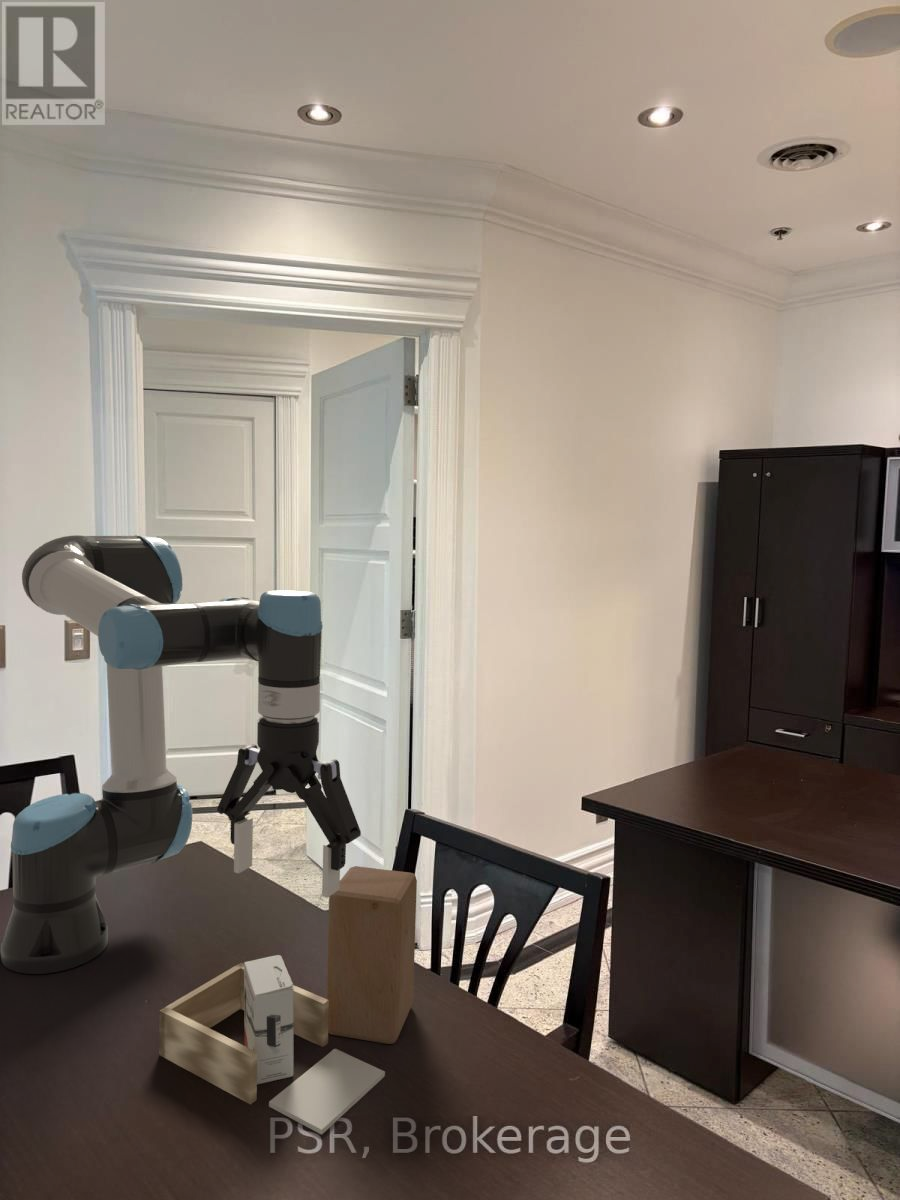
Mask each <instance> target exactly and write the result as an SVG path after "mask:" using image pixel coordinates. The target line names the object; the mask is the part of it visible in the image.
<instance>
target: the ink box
mask: <svg viewBox="0 0 900 1200" xmlns="http://www.w3.org/2000/svg"><path fill="white" fill-rule="evenodd" d="M243 964H244V1010H243V1011H244V1012H243V1013H244V1018H243V1019H244V1021H243V1023H244V1028H243V1029H244V1031H243V1032H244V1035H243V1036H244V1039H243V1040H244V1043H243V1044H244V1046H246V1047H248V1048H250V1049H252V1050H254V1051H256V1052H257V1085H260V1084H261V1085H262V1084H266V1083H270V1082H273V1081H277V1080H282V1079H286V1078H287V1079H288V1078H291V1077H293V1076H294V1051H295V1050H294V1043H295V1042H294V1035H295V1034H294V1031H293V1020H294V989H293V986H292V985H294V983H293V981H292V978H291V976H290V974H289V972H288V968H287V967H286V965H285V961H284V959H283V957H282V955H280V954H276V955H270V956H267V957H266V956H265V957H262V958H257V959H253V960H248V961H244V962H243Z"/></svg>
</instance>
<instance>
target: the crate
mask: <svg viewBox="0 0 900 1200" xmlns="http://www.w3.org/2000/svg"><path fill="white" fill-rule="evenodd" d="M292 986H293V989H294V1020H293V1031H294V1035H296V1036H298V1037H300V1038H302V1039H304V1040H307V1041H308V1042H311V1043H313V1044H315V1045H317V1046H320V1047H322V1048H324V1047H325V1046H326V1045H328V1044H329V1033H328V1012H329V1000H327V998H325V997H323V996H320V995H317V994H315V993H314V992H310V991H309V990H306V989H304V988H302V987H299V986H297V985H294V984H293V985H292ZM240 1010H242V1011H244V962H243V963H242V962H239V963H238V964H236V965H234V966H233V967H230V968H229V969H227V970H226V971H224V972H223V973H221V974H219V975H217V976H216V977H214V978H212V979H211V980H209V981H207V982H205V983H204V984H202V985H200V986H199V987H197V988H195V989H193V990H191V991H190V992H189V993H187V994H185V995H183V996H181V997H180V998H178V999H176V1000H175V1001H173V1002H172V1003H170V1004H168V1005H167V1006H165V1007H163V1008H161V1009H160V1010H159V1014H158V1016H159V1018H158V1019H159V1021H158V1022H159V1023H158V1025H159V1028H158V1029H159V1039H158V1040H159V1041H158V1042H159V1045H158V1050H159V1051H158V1052H159V1054H158V1055H159V1056H160V1057H163V1058H164V1059H166V1060H167V1061H169V1062H172V1063H173V1064H175V1065H176V1066H178V1067H180V1068H183V1069H184V1070H186V1071H188V1072H189V1073H192V1074H194V1075H195V1076H197V1077H199V1078H201V1079H202V1080H205V1081H206V1082H208V1083H210V1084H212V1085H214V1086H215V1087H217V1088H219V1089H221V1090H223V1091H225V1092H227V1093H228V1094H230V1095H232V1096H234V1097H235V1098H238V1099H239V1100H240V1101H243V1102H245V1103H246V1104H249V1105H252V1104H253V1103H255V1102H256V1101H257V1099H258V1098H257V1097H258V1096H257V1094H258V1093H257V1092H258V1086H257V1085H258V1084H257V1052H256V1051H254V1050H252V1049H250V1048H248V1047H246V1046H244V1045H243V1043H242V1044H241V1043H239V1042H238V1041H236V1040H234V1039H231V1038H229V1037H227V1036H225V1035H224V1034H223V1033H222V1034H221V1033H220V1032H218V1031H216V1030H213V1029H211V1028H213V1027H215V1025H218V1024H219V1023H220V1022H222V1021H224V1020H225V1019H227V1018H228V1017H230V1016H232V1015H233V1014H234V1013H236V1012H238V1011H240Z"/></svg>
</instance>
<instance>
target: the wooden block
mask: <svg viewBox="0 0 900 1200" xmlns="http://www.w3.org/2000/svg"><path fill="white" fill-rule="evenodd" d="M417 883H418V881H417V876H416V874H415V873H413V872H408V871H407V872H406V871H399V870H390V869H383V868H382V869H381V868H376V867H375V868H374V867H368V866H357V865H354V866H352V867H350V868H349V869H348V870H347V871H346V872H345V874H344V875H343V876H342V877H341V878H340V889H339V890H338V891H336V892H335V893H333V894H332V895H331V896H329V897H328V925H327V926H328V927H327V933H328V934H327V967H326V968H327V969H326V970H327V977H326V979H327V980H326V999H327V1000H329V1012H328V1034H330V1035H331V1036H332V1035H333V1036H340V1037H345V1038H349V1039H351V1038H352V1039H356V1040H362V1041H363V1040H364V1041H369V1042H374V1043H375V1042H376V1043H380V1044H388V1045H391V1044H395V1043H396V1042H397V1041H398V1038H399V1036H400V1034H401V1031H402V1028H403V1027H404V1024H405V1022H406V1020H407V1018H408V1015H409V1012H410V1011H411V1009H412V1005H413V1003H414V985H415V984H414V981H415V980H414V979H415V976H414V975H415V974H414V973H415V951H416V950H415V947H416V923H417V922H416V921H417V919H416V918H417V917H416V916H417V892H418V891H417V890H418V888H417V887H418V885H417Z"/></svg>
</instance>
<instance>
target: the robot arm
mask: <svg viewBox="0 0 900 1200" xmlns="http://www.w3.org/2000/svg"><path fill="white" fill-rule="evenodd" d="M21 581H22V589H23V590H24V592H25V594H26V596H27V598H29V600H30V601H31V602H32V603H33V604H35V606H37V607H38V608H40V609H41V610H43V611H45V612H46V613H49V614H52V615H57V616H65V617H67V618H69V619H70V620H72V621H73V622H75V623H76V624H78V625H80V626H81V627H83V628H84V629H86V630H87V631H89V632H90V633H91V634H93V635H95V636H96V637H97V638H98V646H99V648H98V649H99V651H100V653H101V655H102V656H103V660H104V662H105V664H106V679H107V680H106V681H107V683H106V684H107V701H108V703H107V704H108V723H109V725H108V726H109V745H110V748H109V749H110V766H111V767H110V769H111V774H110V776H109V778H108V779H107V780H105V782H104V783H103V784H102V787H101V791H102V793H101V794H102V798H101V799H98V800H95V799H94V797H93V796H91V795H90V794H88V793H84V792H83V793H81V792H72V793H70V794H69V793H61V794H58V795H54V796H53V795H52V796H48V797H45V798H42V799H40V800H37V801H35V802H34V803H32V804H29V805H28V806H26V807H24V808H23V809H22V811H20V812H19V813H18V814H17V815H16V816H15V818H14V820H13V823H12V833H11V842H10V850H11V853H12V854H11V858H12V861H11V863H12V899H13V900H12V901H13V902H12V903H13V904H12V911H11V914H10V917H9V920H8V923H7V926H6V929H5V932H4V935H3V938H2V941H1V945H0V959H1V960H0V961H1V963H2V965H3V966H4V967H5V968H7V969H8V970H10V971H13V972H17V973H20V974H26V975H44V974H53V973H58V972H59V973H60V972H62V971H67V970H71V969H73V968H76V967H79V966H81V965H84V964H86V963H88V962H90V961H92V960H93V959H95V958H96V957H97V956H99V955H100V954H101V953H103V951H104V950H105V949H106V947H108V943H109V939H108V938H109V933H108V930H109V929H108V923H107V920H106V918H105V916H104V913H103V910H102V908H101V906H100V903H99V900H98V898H97V895H96V892H97V891H96V890H97V889H96V886H97V885H96V881H97V880H96V879H97V878H98V877H100V876H103V875H107V874H111V873H115V872H119V871H123V870H125V869H129V868H134V867H138V866H142V865H145V864H149V863H151V864H154V863H157V862H160V861H161V860H163V859H166V858H169V857H172V856H175V855H177V854H178V853H180V852H181V851H182V850H183V849H184V848H185V846H186V844H187V843H188V841H189V838H190V835H191V832H192V826H193V807H192V803H191V802H190V799H191V798H190V795H189V792H188V791H187V789H185V787H183V786H182V785H180V784H178V783H177V782H178V781H177V776H175V774H173V773H172V772H170V770H168V768H167V748H166V725H165V724H166V723H165V703H164V701H165V699H164V681H163V680H164V679H163V678H164V677H163V667H167V666H174V665H175V666H177V665H183V664H184V665H185V664H194V663H204V662H213V661H214V662H215V661H224V660H225V661H226V660H234V659H235V660H236V659H248V660H251V661H254V662H257V663H258V665H257V666H258V667H257V668H258V669H257V670H258V671H257V673H258V676H257V683H258V685H257V688H258V692H257V693H258V694H257V695H258V696H257V712H258V714H259V715H261V716H260V717H259V718H258V719H257V733H256V734H257V735H256V736H257V739H256V740H257V741H256V743H257V744H254V743H253V744H250V745H246V746H244V747H241V748H239V749H238V752H237V761H236V765H235V767H234V770H233V772H232V774H231V777H230V779H229V781H228V783H227V785H226V788H225V790H224V792H223V794H222V797H221V799H220V801H219V803H218V805H217V808H216V810H217V812H218V814H219V815H223V814H224V815H226V817H228V820H229V821H230V839H229V840H230V842H231V845H233V847H234V849H233V852H234V853H233V873H235V874H240V873H242V872H244V871H246V870H248V869H249V868H251V867H252V866H253V831H254V830H253V828H254V820H253V817H252V816H251V817H250V816H248V815H250V814H251V811H252V810H253V809H254V807H255V806H256V805H257V804H258V803H259V801H260V800H261V799H262V798H263V796H264V795H265V794H266V793H267V791H269V789H270V788H271V787H272V790H276V791H281V790H283V791H284V792H286V793H290V794H294V793H296V795H297V797H298V798H299V799H300V800H303V802H304V803H305V804H306V806H307V808H308V810H309V811H310V813H311V815H312V817H313V818H314V819H315V821H316V823H317V824H318V827H319V828H320V829H321V831H322V833H323V835H324V837H325V839H326V840H327V842H326V843H323V845H322V846H323V847H322V885H321V888H322V889H321V896H322V898H323V897H324V898H327V899H329V896H331V895H332V894H333V893H335V892H336V891H338V890H339V889H340V880H341V870H342V868H344V867H345V865H346V857H347V856H346V855H347V853H346V852H347V844H350V843H351V842H353V841H354V840H356V839H358V838H359V837H360V836H361V834H362V832H361V829H360V826H359V824H358V821H357V818H356V815H355V812H354V810H353V808H352V805H351V801H350V800H349V796H348V794H347V792H346V789H345V786H344V784H343V781H342V778H341V769H340V768H341V767H340V761H339V760H338V759H331V760H329V761H323V760H321V761H320V760H319V759H318V755H317V751H318V750H317V749H318V746H319V742H320V719H319V718H318V716H317V715H318V714H319V713H320V707H321V692H320V691H321V682H320V680H321V678H320V676H321V659H322V658H321V656H322V655H321V654H322V630H323V626H324V625H323V621H322V612H321V611H322V608H321V607H322V606H321V605H322V603H321V599H320V597H319V596H318V595H317V594H316V593H314V592H311V591H306V590H305V591H304V590H302V591H300V590H291V589H290V590H287V589H283V590H282V589H281V590H280V589H279V590H276V589H275V590H268V591H265V592H263V593H261V594H260V597H259V600H258V601H257V600H254V599H250V598H248V597H242V596H241V597H225V598H223V599H219V600H218V601H204V602H187V603H185V602H183V603H181V602H180V603H178V601H179V600H180V598H181V596H182V593H181V592H182V590H183V575H182V569H181V565H180V561H179V559H178V556H177V554H176V552H175V551H174V550H173V548H172V546H171V545H170V544H169V543H168V542H167V541H165V540H164V539H162V538H160V537H157V536H156V537H154V536H146V535H145V536H144V535H137V534H135V535H76V534H75V535H65V536H62V537H61V536H60V537H58V538H54V539H51V540H49V541H47V542H45V543H43V544H42V545H40V546H39V547H38V548H37V549H35V550H34V551H33V552H32V553H31V554H30V555H29V556H28V558H27V559H26V561H25V563H24V566H23V568H22V572H21ZM257 764H258V766H259V767H260V769H261V772H260V774H259V775H258V776H257V777H256V779H255V780H254V781H253V784H252V785H251V786H250V788H248V790H247V791H246V792H245V790H246V788H247V785H248V783H249V781H250V778H251V776H252V774H253V772H254V770H255V767H256V766H257ZM316 774H317V776H316ZM307 786H309V787H307ZM322 790H323V791H322ZM244 792H245V793H244ZM243 793H244V795H243ZM246 816H247V817H246Z"/></svg>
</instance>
